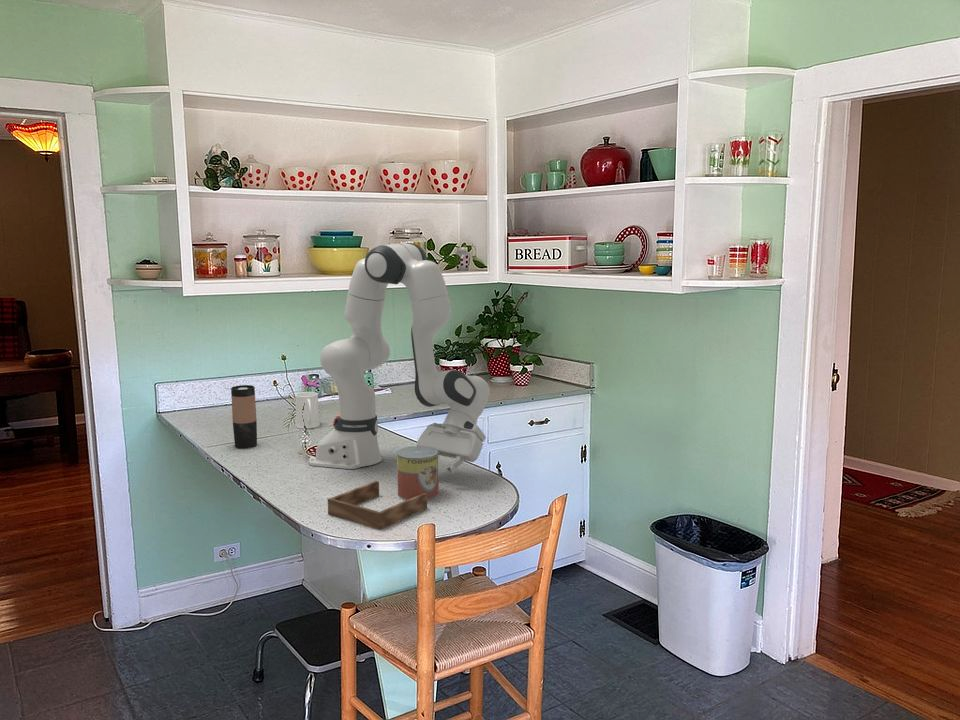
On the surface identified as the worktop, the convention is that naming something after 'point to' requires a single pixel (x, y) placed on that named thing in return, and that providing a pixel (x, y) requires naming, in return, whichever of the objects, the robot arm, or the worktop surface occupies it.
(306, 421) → the mug
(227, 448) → the worktop surface
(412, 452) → the canned food
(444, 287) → the robot arm
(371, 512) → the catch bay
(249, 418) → the travel mug
